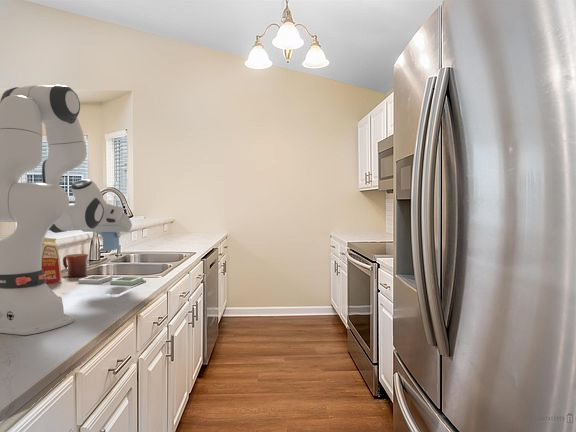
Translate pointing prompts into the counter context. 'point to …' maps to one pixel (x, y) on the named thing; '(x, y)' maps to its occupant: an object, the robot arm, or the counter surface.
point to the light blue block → (110, 241)
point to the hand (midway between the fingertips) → (111, 236)
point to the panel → (111, 281)
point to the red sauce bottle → (51, 261)
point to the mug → (76, 265)
